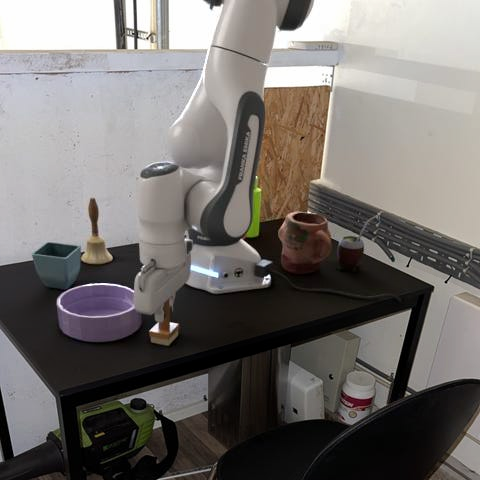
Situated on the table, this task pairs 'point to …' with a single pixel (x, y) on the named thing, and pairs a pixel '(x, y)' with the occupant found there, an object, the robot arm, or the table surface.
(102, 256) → the hand bell
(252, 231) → the soap dispenser
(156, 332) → the brush
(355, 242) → the mate gourd
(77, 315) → the bowl
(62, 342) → the table surface
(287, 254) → the decorative planter
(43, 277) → the flower pot
